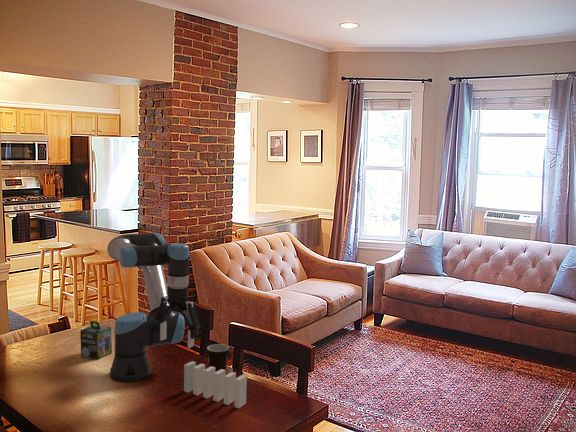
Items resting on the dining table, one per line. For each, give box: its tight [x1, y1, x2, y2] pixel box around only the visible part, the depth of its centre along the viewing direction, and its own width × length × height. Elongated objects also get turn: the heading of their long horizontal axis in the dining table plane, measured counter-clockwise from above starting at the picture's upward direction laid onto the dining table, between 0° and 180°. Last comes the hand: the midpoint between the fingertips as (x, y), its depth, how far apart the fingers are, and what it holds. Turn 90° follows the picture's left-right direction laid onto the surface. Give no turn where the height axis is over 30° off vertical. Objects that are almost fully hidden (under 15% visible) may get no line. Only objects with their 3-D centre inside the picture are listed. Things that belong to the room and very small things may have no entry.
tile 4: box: [212, 369, 227, 403], centre depth 187 cm, size 2×4×10 cm, turn 151°
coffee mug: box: [206, 343, 230, 372], centre depth 212 cm, size 12×9×10 cm
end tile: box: [183, 360, 197, 393], centre depth 193 cm, size 2×4×10 cm, turn 151°
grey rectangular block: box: [234, 374, 248, 409], centre depth 183 cm, size 2×4×10 cm, turn 151°
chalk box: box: [80, 320, 113, 361], centre depth 224 cm, size 9×9×15 cm
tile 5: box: [223, 371, 237, 406], centre depth 185 cm, size 2×4×10 cm, turn 151°
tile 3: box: [202, 366, 215, 399], centre depth 189 cm, size 2×4×10 cm, turn 151°
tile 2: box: [192, 363, 206, 396], centre depth 191 cm, size 2×4×10 cm, turn 151°
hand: (176, 343), depth 196 cm, fingers open, 12 cm apart
